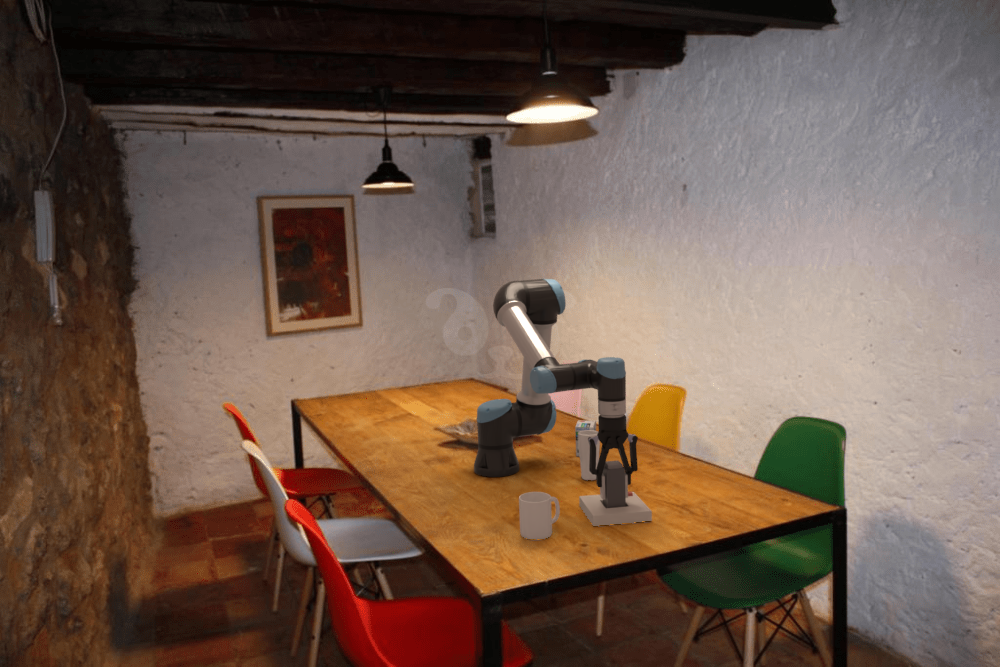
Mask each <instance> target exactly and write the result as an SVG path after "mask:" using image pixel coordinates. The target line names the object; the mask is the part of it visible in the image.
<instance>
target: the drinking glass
mask: <svg viewBox="0 0 1000 667" xmlns="http://www.w3.org/2000/svg"><path fill="white" fill-rule="evenodd" d="M598 432H599V430H596V431H594V430H584V431H580V432H578V447H579V456H578V457H579V460H580V461H579V464H580V474H581V479H582V480H584V481H588V480H591V481H596V475H593V474H592V473H591V472H590V471H589V461H590V445H589V442H588V438H589V437H591V438H592V437H595V436H597V434H598ZM600 443H601V442H600V441H599V440H598V441H597V445H596V469H597V465H598V461H599V457H600V446H601V445H600Z"/></svg>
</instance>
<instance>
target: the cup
mask: <svg viewBox="0 0 1000 667" xmlns="http://www.w3.org/2000/svg"><path fill="white" fill-rule="evenodd" d="M552 502H554V505H555V514H554V516H552V515H553V514H552ZM518 508H519V509H518V510H519V512H518V513H519V533H520V536H521V538H523V537H524V538H523V539H525V538H527V539H536V540H535V541H538V540H537V539H544V540H546V539H545V538H547V539H548V537H549V538H550V537H551V536H552V533H553V524H554V523H556V522H557V521H558V519H559V517H560V514H561V513H560V510H561V508H560V502H559V499H558V498H557V497H555V496H551V494H550V493H546V492H543V491H529V492H525V493H522V494H520V495H519V497H518ZM527 539H526V540H527Z"/></svg>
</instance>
